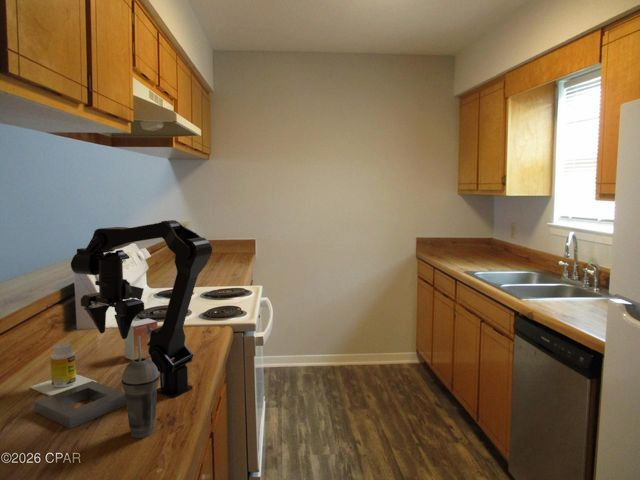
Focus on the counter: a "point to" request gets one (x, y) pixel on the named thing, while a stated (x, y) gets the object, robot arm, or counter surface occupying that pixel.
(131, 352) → the small box
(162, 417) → the counter surface
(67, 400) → the frame
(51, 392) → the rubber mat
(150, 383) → the beverage cup
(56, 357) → the supplement bottle
